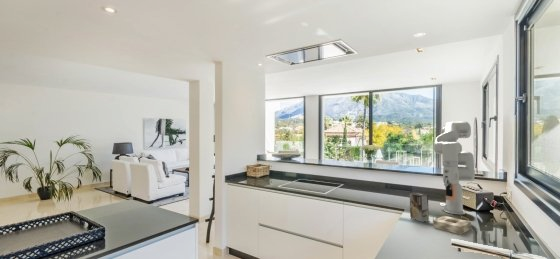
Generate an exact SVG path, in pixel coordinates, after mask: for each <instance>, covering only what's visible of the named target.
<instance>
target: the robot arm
mask: <svg viewBox="0 0 560 259" xmlns="http://www.w3.org/2000/svg"><path fill="white" fill-rule="evenodd" d="M471 135H472V127H471V124H470V123H469V122H468V121H449V122H446V123H445V124H444V127H442V128H441V129H440V134H439V135H438V136H437V137H435V139H434V142H433V151H434V153H436V154H438V155H441V159H442V160H441V161H442V181H443V183H444V184H443V186H445V197H446V196H451V197H452V196H453V195H452V184H456V192H457V200H456V201H450V200H446V199H445V203H442V202H441V203H440V204H439V206H440V207H442V208H443V211H444V212H445V213H448V214H451V215H465V214H466V213H467V212H466V210H464V205H463V187H462V185H461V184H460V182H461V181H462V182H463V181H464V182H473V181H475V176H476V174H475V158H474V155H473V153H472V152H471V151H463V145H462V144H461V143H460V142H458V140H459V139H468V138H470V137H471ZM448 183H450V184H448ZM449 185H450V186H449Z"/></svg>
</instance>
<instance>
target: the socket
mask: <svg viewBox="0 0 560 259" xmlns="http://www.w3.org/2000/svg"><path fill="white" fill-rule="evenodd" d="M432 223H433V225H432V226H433V228H435V229H439V230H443V231H446V232H450V233H453V234H457V235H463V234H464V233H466V232H468V231H470V230H472V221H469V220H464V219H460V218H458V217H457V218H456V217H451V216H447V215H442V216H440V217H437V218H435V219H433V220H432Z"/></svg>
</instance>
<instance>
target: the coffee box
mask: <svg viewBox="0 0 560 259" xmlns="http://www.w3.org/2000/svg"><path fill="white" fill-rule="evenodd" d="M429 210H430V209H429V195H428V194H424V193H419V192H410V193H409V215H410V217H411V218H410V219H412V218H413V220H415V219H416V220H415V221H418V220H419V221H418V222H421V223H424V221H426V222H429V221H430V213H429V212H430V211H429Z"/></svg>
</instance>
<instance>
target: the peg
mask: <svg viewBox="0 0 560 259" xmlns="http://www.w3.org/2000/svg"><path fill="white" fill-rule="evenodd" d="M448 184H450V183H448ZM449 186H450V185H449ZM452 195H453V196H452V197H451V196H446V195H445V201H446V200H450V201H456V200H457V192H456V184H452Z"/></svg>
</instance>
